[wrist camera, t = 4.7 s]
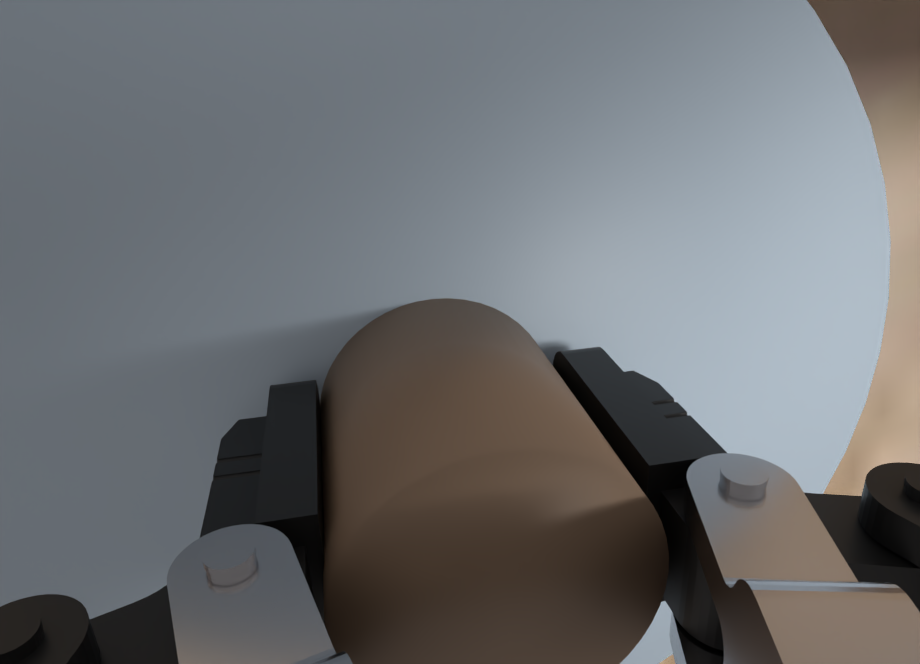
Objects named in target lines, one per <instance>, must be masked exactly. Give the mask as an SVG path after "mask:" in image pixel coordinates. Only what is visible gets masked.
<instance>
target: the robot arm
mask: <svg viewBox="0 0 920 664" xmlns="http://www.w3.org/2000/svg"><path fill="white" fill-rule="evenodd" d="M553 367H554V368H555V370H556V371H557V372H558V374H559V375H560V376H561V378H562V379H563V381H564V382H565V383H566V385H567V386H568V388H569V389H570V390H571V392H572V393H573V395H574V396H575V397H576V399H577V400H578V402H579V403H580V404H581V406H582V407H583V408H584V410H585V411H586V413H587V414H588V415H589V417H590V418H591V420H592V421H593V422H594V424H595V425H596V427H597V428H598V429H599V431H600V432H601V434H602V435H603V436H604V438H605V439H606V441H607V442H608V443H609V445H610V446H611V447H612V449H613V450H614V452H615V453H616V454H617V456H618V457H619V459H620V460H621V461H622V463H623V464H624V466H625V467H626V468H627V470H628V471H629V473H630V474H631V475H632V477H633V478H634V480H635V481H636V482H637V484H638V485H639V486H640V488H641V489H642V491H643V492H644V493H645V495H646V496H647V498H648V499H649V500H650V502H651V503H652V505H653V506H654V508H655V510H656V512H657V514H658V516H659V517H660V519H661V521H662V525H663V528H664V531H665V534H666V537H667V544H668V551H669V572H668V577H667V583H666V589H665V592H664V595H663V598H662V601H661V602H663V601H666V603H667V604H668V606H669V608H670V609H671V611H672V613H671V622H670V632H669V637H670V643H671V647H672V651H673V655H674V659H675V663H676V664H920V464H914V463H888V464H883V465H880V466H877V467H875V468H873V469H872V470H870V472H869V473H868V474H867V476H866V480H865V484H864V489H863V493H862V496H848V495H831V494H815V493H805V492H803V490H802V489H801V487H800V486H799V484H798V483H797V481H796V480H795V479H794V478H793V477H792V476H791V475H790V474H789V473H788V472H786V471H785V470H784V469H782V468H780V467H779V466H777V465H775V464H773V463H771V462H768V461H766V460H763V459H760V458H757V457H753V456H749V455H743V454H733V453H727V452H726V451H725V450H724V449H723V448H722V447H721V446H720V445H719V444H718V443H717V442H716V441H715V440H714V439H713V438H712V437H711V436H710V435H709V434H708V433H707V432H706V431H705V430H704V429H703V428H702V427H701V426H700V425H699V424H698V423H697V422H696V421H695V420H694V419H693V417H692V416H691V415H689V416H688V415H687V411H686V410H685V409H684V408H683V407H682V406H681V405H680V404H679V403H678V402H674V398H673V397H672V396H671V395H670V394H669V393H668V392H667V391H666V390H665V389H664V388H663V387H662V386H661V385H660V384H659V383H658V382H656V381H654V380H652V379H650V378H648V377H646V376H644V375H642V374H640V373H637V372H635V371H626V372H624V371H623V370H622V369H621V368H620V367H619V366H618V365H617V364H616V363H615V362H614V361H613V359H612V358H611V357H610V356H609V355H608V354H607V353H606V352H605V351H604V350H603V349H602V348H601V347H592V348H583V349H575V350H566V351H558V352H557V353H556V354H555V356H554V360H553ZM323 571H324V527H323V489H322V450H321V412H320V401H319V393H318V387H317V382H316V380H310V381H302V382H293V383H285V384H276V385H270V389H269V397H268V406H267V415H266V416H263V417H255V418H247V419H239V420H238V421H237V422H236V423H235V424H234V425H233V426H232V428H231V429H230V430H229V431H228V432H227V433H226V434H225V435H224V436H223V437H222V438H221V442H220V446H219V451H218V456H217V463H216V465H215V469H214V474H213V481H212V483H211V488H210V492H209V497H208V502H207V506H206V511H205V515H204V520H203V525H202V529H201V534H200V538H199V539H197V540H196V541H194V542H192V543H191V544H190V545H188V546H187V547H186V548H185V549H184V550H183V551H182V552H181V553H180V554H179V555H178V556H177V557H176V558H175V560H174V561H173V562H172V564H171V566H170V568H169V571H168V575H167V585H166V586H164V587H163V588H161V589H160V590H158V591H157V592H155V593H153V594H151V595H149V596H147V597H145V598H143V599H141V600H138V601H136V602H134V603H131V604H129V605H126V606H123V607H121V608H118V609H116V610H113V611H110V612H108V613H105V614H103V615H100V616H97V617H95V618H92V619H90V618H89V615H88V613H87V610H86V608H85V607H84V605H83V604H82V603H81V602H79V601H78V600H76V599H75V598H72V597H69V596H66V595H59V594H44V595H36V596H31V597H27V598H22V599H19V600H16V601H13V602H10V603H8V604H5V605H3V606H0V664H353V663H352V661H351V659H350V657H349V656H348V654H347V653H346V652H345V651H341V652H339V653H336V652H335V650H334V648H333V645H332V643H331V640H330V638H329V635H328V633H327V630H326V628H325V621H324V590H323Z"/></svg>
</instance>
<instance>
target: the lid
mask: <svg viewBox="0 0 920 664" xmlns="http://www.w3.org/2000/svg"><path fill="white" fill-rule="evenodd" d="M889 272H890V231H889V221H888V211H887V201H886V191H885V182H884V178H883V174H882V170H881V166H880V161H879V157H878V153H877V149H876V145H875V141H874V137H873V133H872V128H871V124H870V122H869V119H868V117H867V114H866V112H865V109H864V107H863V104H862V102H861V99H860V97H859V94H858V92H857V89H856V87H855V84H854V82H853V79H852V77H851V74H850V72H849V70H848V67H847V65H846V63H845V62H844V60H843V58H842V56H841V55H840V53H839V51H838V50H837V48H836V46H835V45H834V43H833V41H832V39H831V38H830V36H829V34H828V33H827V31H826V29H825V28H824V26H823V24H822V22H821V21H820V19H819V17H818V16H817V14H816V12H815V11H814V9H813V8H812V6H811V5H810V4H809V3H808V1H807V0H0V606H3V605H5V604H8V603H10V602H13V601H16V600H19V599H22V598H27V597H31V596H36V595H44V594H59V595H66V596H69V597H72V598H75V599H76V600H78V601H79V602H81V603H82V604H83V605H84V607H85V608H86V610H87V613H88V615H89V618H90V619H92V618H95V617H97V616H100V615H103V614H105V613H108V612H110V611H113V610H116V609H118V608H121V607H123V606H126V605H129V604H131V603H134V602H136V601H138V600H141V599H143V598H145V597H147V596H149V595H151V594H153V593H155V592H157V591H158V590H160V589H161V588H163V587H164V586H166V585H167V575H168V571H169V568H170V566H171V564H172V562H173V561H174V560H175V558H176V557H177V556H178V555H179V554H180V553H181V552H182V551H183V550H184V549H185V548H186V547H187V546H188V545H190V544H191V543H192V542H194V541H196V540H197V539H199V538H200V534H201V529H202V525H203V520H204V515H205V511H206V506H207V502H208V497H209V492H210V488H211V483H212V481H213V474H214V469H215V465H216V463H217V456H218V451H219V446H220V442H221V438H222V437H223V436H224V435H225V434H226V433H227V432H228V431H229V430H230V429H231V428H232V426H233V425H234V424H235V423H236V422H237V421H238V420H239V419H247V418H255V417H263V416H266V415H267V406H268V397H269V389H270V385H276V384H285V383H293V382H302V381H310V380H316V382H317V387H318V393H319V401H320V412H321V450H322V489H323V527H324V571H323V590H324V621H325V628H326V630H327V633H328V635H329V638H330V640H331V643H332V645H333V648H334V650H335V652H336V653H339V652H341V651H345V652H346V653H347V654H348V656H349V657H350V659H351V661H352V663H353V664H659V663H660V662H662V661H663V660H664V659H666V658H667V657H669V656H670V655H672V654H673V651H672V647H671V643H670V637H669V632H670V622H671V613H672V611H671V609H670V608H669V606H668V604H667V603H666V601H663V602H661V601H662V598H663V595H664V592H665V589H666V583H667V577H668V572H669V551H668V544H667V537H666V534H665V531H664V528H663V525H662V521H661V519H660V517H659V516H658V514H657V512H656V510H655V508H654V506H653V505H652V503H651V502H650V500H649V499H648V498H647V496H646V495H645V493H644V492H643V491H642V489H641V488H640V486H639V485H638V484H637V482H636V481H635V480H634V478H633V477H632V475H631V474H630V473H629V471H628V470H627V468H626V467H625V466H624V464H623V463H622V461H621V460H620V459H619V457H618V456H617V454H616V453H615V452H614V450H613V449H612V447H611V446H610V445H609V443H608V442H607V441H606V439H605V438H604V436H603V435H602V434H601V432H600V431H599V429H598V428H597V427H596V425H595V424H594V422H593V421H592V420H591V418H590V417H589V415H588V414H587V413H586V411H585V410H584V408H583V407H582V406H581V404H580V403H579V402H578V400H577V399H576V397H575V396H574V395H573V393H572V392H571V390H570V389H569V388H568V386H567V385H566V383H565V382H564V381H563V379H562V378H561V376H560V375H559V374H558V372H557V371H556V370H555V368H554V367H553V360H554V356H555V354H556V353H557V352H558V351H566V350H575V349H583V348H592V347H601V348H602V349H603V350H604V351H605V352H606V353H607V354H608V355H609V356H610V357H611V358H612V359H613V361H614V362H615V363H616V364H617V365H618V366H619V367H620V368H621V369H622V370H623V371H624V372H626V371H635V372H637V373H640V374H642V375H644V376H646V377H648V378H650V379H652V380H654V381H656V382H658V383H659V384H660V385H661V386H662V387H663V388H664V389H665V390H666V391H667V392H668V393H669V394H670V395H671V396H672V397H673V398H674V402H678V403H679V404H680V405H681V406H682V407H683V408H684V409H685V410H686V411H687V415H688V416H689V415H691V416H692V417H693V419H694V420H695V421H696V422H697V423H698V424H699V425H700V426H701V427H702V428H703V429H704V430H705V431H706V432H707V433H708V434H709V435H710V436H711V437H712V438H713V439H714V440H715V441H716V442H717V443H718V444H719V445H720V446H721V447H722V448H723V449H724V450H725V451H726V452H727V453H733V454H743V455H749V456H753V457H757V458H760V459H763V460H766V461H768V462H771V463H773V464H775V465H777V466H779V467H780V468H782V469H784V470H785V471H786V472H788V473H789V474H790V475H791V476H792V477H793V478H794V479H795V480H796V481H797V483H798V484H799V486H800V487H801V489H802V490H803V492H805V493H815V494H823V493H824V491H825V489H826V487H827V485H828V483H829V481H830V480H831V478H832V476H833V474H834V472H835V470H836V469H837V467H838V465H839V463H840V461H841V459H842V457H843V456H844V454H845V452H846V449H847V447H848V445H849V442H850V440H851V437H852V435H853V432H854V430H855V428H856V425H857V423H858V420H859V418H860V415H861V413H862V410H863V408H864V406H865V403H866V400H867V396H868V392H869V389H870V385H871V382H872V378H873V375H874V371H875V368H876V364H877V361H878V357H879V354H880V349H881V343H882V336H883V330H884V324H885V318H886V311H887V305H888V299H889Z"/></svg>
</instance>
